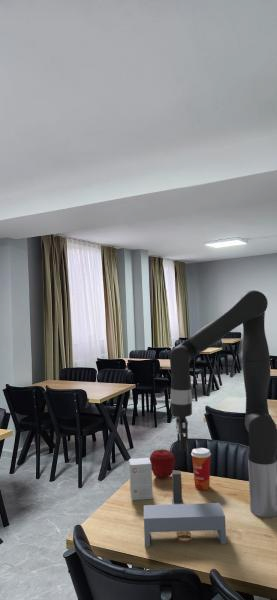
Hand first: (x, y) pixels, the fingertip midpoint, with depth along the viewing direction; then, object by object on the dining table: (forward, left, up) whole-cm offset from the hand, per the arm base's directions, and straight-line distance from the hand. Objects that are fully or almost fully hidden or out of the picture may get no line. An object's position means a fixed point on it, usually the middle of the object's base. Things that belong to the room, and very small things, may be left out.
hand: (181, 446), depth 138 cm
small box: (+15, -8, -21) cm, 27 cm away
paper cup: (-9, -14, -21) cm, 27 cm away
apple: (+6, -24, -21) cm, 33 cm away
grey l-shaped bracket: (+2, +6, -21) cm, 22 cm away
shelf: (+2, +20, -21) cm, 29 cm away
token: (+2, +20, -21) cm, 29 cm away
